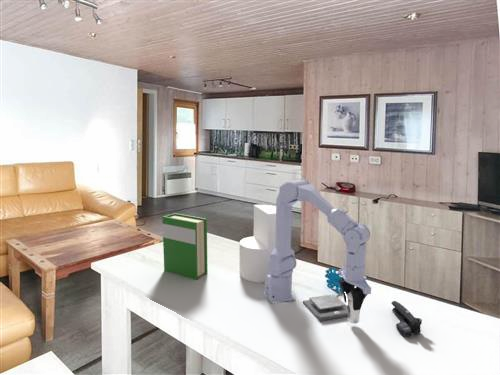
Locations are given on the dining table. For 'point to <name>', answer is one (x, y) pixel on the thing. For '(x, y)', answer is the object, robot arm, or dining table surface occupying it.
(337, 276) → the gear
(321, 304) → the scale pan
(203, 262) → the hardback book
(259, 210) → the white tall piece
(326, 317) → the scale base
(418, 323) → the can opener
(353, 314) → the milkshake
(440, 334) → the dining table surface
